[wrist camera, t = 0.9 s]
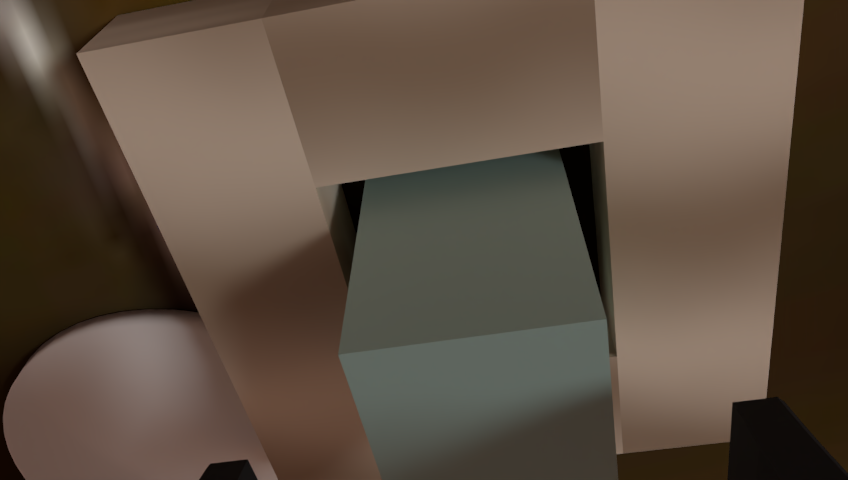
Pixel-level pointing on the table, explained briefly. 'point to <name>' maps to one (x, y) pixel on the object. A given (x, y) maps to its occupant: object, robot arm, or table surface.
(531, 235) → the block
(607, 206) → the board
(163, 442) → the coaster
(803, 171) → the table surface
